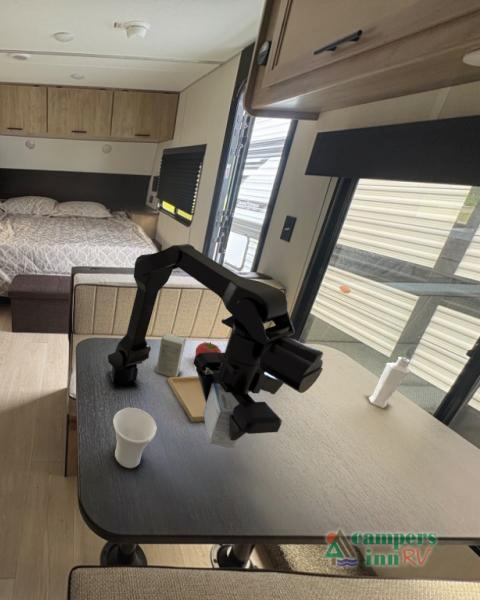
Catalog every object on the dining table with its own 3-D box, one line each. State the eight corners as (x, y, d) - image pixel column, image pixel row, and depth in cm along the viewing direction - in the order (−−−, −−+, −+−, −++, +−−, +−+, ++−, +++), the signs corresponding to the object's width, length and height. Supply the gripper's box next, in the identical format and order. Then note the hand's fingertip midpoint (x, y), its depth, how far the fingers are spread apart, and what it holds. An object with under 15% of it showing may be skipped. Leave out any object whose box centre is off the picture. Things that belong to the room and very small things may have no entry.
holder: (191, 421, 75) (192, 416, 75) (167, 381, 89) (168, 377, 88) (232, 419, 77) (234, 414, 76) (203, 379, 90) (204, 375, 90)
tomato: (208, 354, 103) (213, 335, 100) (224, 368, 96) (230, 348, 93) (188, 356, 101) (193, 337, 98) (202, 371, 94) (208, 350, 91)
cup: (122, 483, 60) (128, 448, 55) (101, 446, 67) (105, 412, 63) (159, 468, 63) (167, 434, 59) (134, 434, 71) (140, 401, 67)
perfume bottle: (388, 402, 86) (415, 359, 79) (388, 410, 83) (417, 366, 76) (367, 394, 88) (392, 351, 82) (366, 401, 85) (392, 358, 79)
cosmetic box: (179, 372, 93) (187, 338, 88) (175, 379, 90) (183, 345, 85) (159, 364, 96) (166, 331, 91) (154, 371, 93) (161, 337, 88)
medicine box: (233, 449, 57) (246, 415, 53) (208, 444, 57) (220, 410, 54) (224, 418, 64) (235, 385, 60) (202, 413, 64) (211, 381, 61)
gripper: (328, 390, 46) (292, 460, 52) (251, 327, 62) (230, 386, 69) (261, 393, 44) (232, 465, 51) (200, 328, 61) (184, 388, 67)
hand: (220, 420), depth 59 cm, fingers closed on medicine box, 9 cm apart
